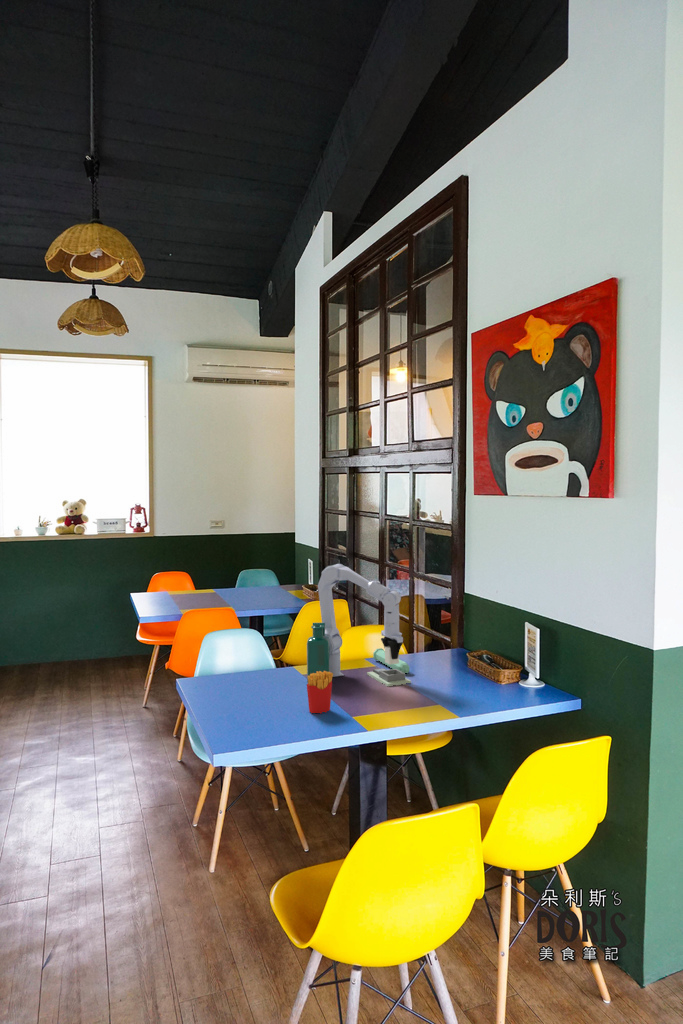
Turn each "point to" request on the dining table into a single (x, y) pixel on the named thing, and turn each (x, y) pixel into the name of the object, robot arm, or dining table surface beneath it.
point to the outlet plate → (389, 676)
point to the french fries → (319, 691)
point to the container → (402, 666)
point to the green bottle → (318, 650)
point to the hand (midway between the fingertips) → (391, 657)
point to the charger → (388, 656)
